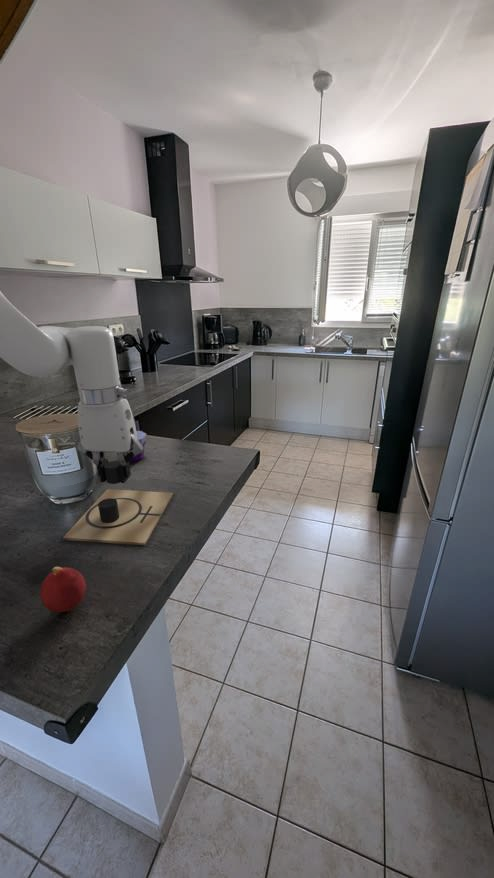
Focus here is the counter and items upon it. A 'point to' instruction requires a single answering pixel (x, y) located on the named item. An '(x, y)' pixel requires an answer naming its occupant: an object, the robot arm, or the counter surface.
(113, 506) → the dot
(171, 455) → the counter surface
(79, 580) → the onion
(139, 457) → the potion bottle
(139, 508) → the board
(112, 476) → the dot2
